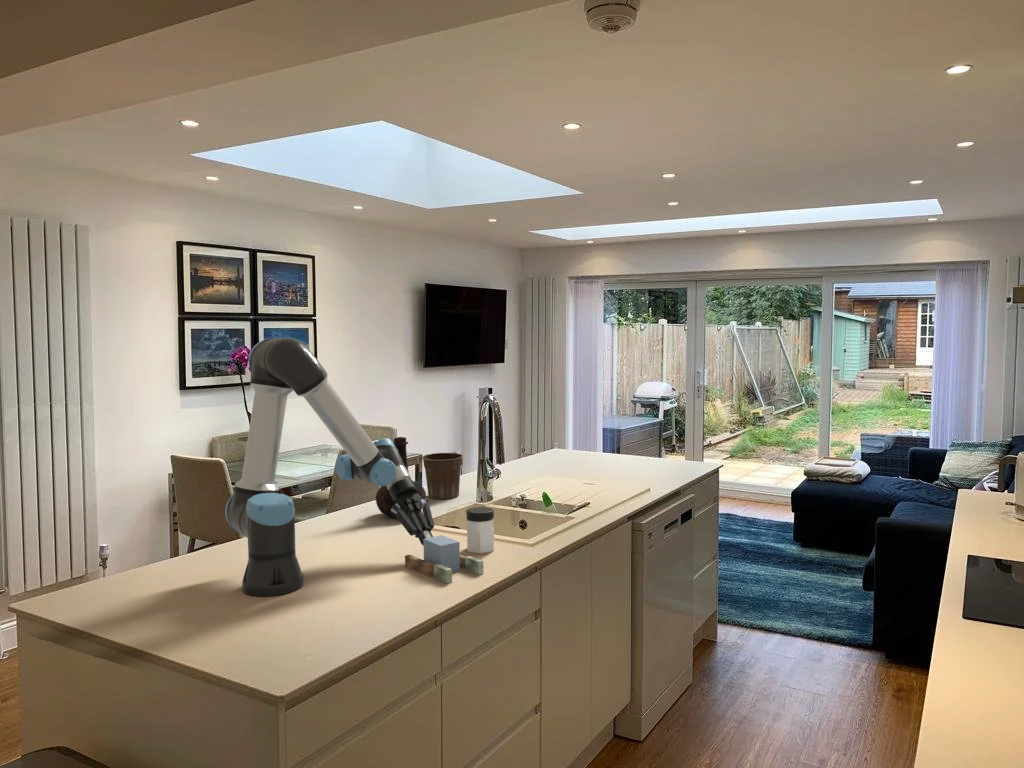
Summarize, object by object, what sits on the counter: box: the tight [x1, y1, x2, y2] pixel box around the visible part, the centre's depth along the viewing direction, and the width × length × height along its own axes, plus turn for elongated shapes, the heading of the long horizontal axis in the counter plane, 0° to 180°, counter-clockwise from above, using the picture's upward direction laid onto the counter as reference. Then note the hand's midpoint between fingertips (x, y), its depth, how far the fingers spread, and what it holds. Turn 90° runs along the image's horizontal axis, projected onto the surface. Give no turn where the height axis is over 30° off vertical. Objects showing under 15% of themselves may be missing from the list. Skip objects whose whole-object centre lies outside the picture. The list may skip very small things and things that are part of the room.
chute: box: [404, 553, 484, 584], centre depth 210 cm, size 20×12×4 cm, turn 41°
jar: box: [465, 506, 495, 555], centre depth 229 cm, size 9×8×12 cm
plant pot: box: [421, 452, 464, 500], centre depth 303 cm, size 16×16×16 cm
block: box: [423, 534, 461, 574], centre depth 211 cm, size 9×6×8 cm, turn 37°
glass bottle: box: [375, 436, 427, 519], centre depth 271 cm, size 18×18×28 cm
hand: (433, 552), depth 216 cm, fingers closed
